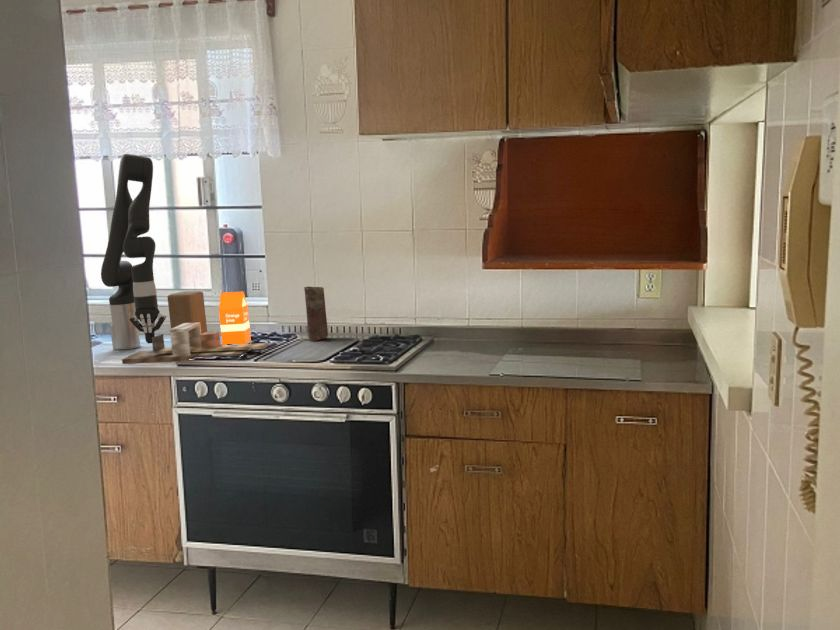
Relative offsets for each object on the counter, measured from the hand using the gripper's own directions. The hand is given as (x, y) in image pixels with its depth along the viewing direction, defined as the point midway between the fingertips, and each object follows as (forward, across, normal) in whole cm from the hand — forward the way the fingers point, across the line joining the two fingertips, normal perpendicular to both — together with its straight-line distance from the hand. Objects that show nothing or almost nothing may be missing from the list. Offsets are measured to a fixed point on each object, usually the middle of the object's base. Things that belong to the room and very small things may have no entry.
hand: (150, 342), depth 281 cm
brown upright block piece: (+6, +55, +22) cm, 59 cm away
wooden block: (+6, +5, +24) cm, 25 cm away
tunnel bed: (+6, +13, 0) cm, 14 cm away
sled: (+4, +22, 0) cm, 22 cm away
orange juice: (+6, +25, +18) cm, 31 cm away
